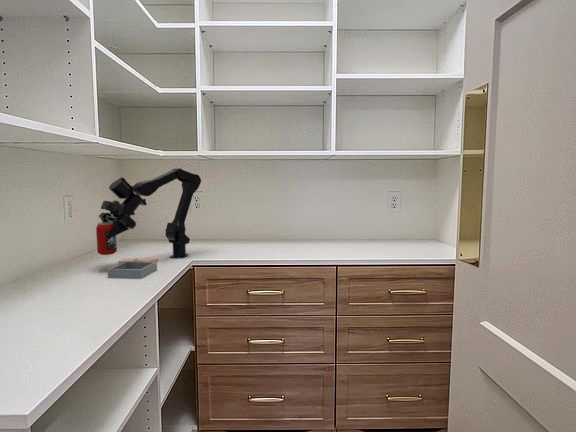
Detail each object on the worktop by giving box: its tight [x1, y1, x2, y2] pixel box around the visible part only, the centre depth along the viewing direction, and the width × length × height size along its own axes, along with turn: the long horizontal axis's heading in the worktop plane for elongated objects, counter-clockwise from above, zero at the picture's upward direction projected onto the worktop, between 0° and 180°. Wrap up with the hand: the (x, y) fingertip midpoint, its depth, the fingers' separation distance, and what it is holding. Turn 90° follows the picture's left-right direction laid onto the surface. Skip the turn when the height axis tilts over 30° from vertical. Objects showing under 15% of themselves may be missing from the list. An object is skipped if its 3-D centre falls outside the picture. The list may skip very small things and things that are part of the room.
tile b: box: [137, 257, 159, 263], centre depth 158 cm, size 6×6×1 cm
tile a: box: [117, 257, 139, 265], centre depth 158 cm, size 6×6×1 cm
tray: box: [107, 261, 158, 280], centre depth 139 cm, size 13×13×3 cm
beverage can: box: [95, 222, 118, 256], centre depth 143 cm, size 7×7×12 cm
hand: (103, 237), depth 141 cm, fingers closed on beverage can, 7 cm apart
